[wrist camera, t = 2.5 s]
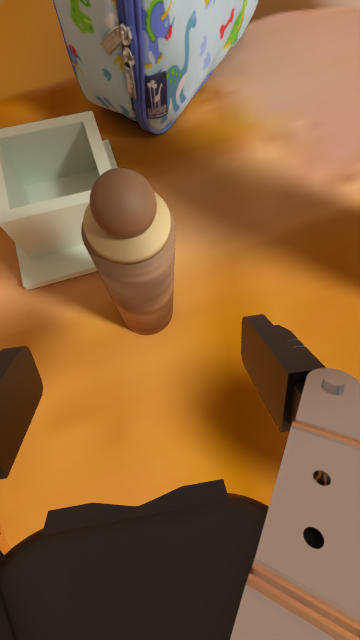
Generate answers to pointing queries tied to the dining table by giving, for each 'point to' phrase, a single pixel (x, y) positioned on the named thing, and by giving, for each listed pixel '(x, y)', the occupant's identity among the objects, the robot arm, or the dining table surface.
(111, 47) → the lunch box
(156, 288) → the pepper mill
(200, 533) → the robot arm
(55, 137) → the caddy
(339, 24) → the dining table surface
